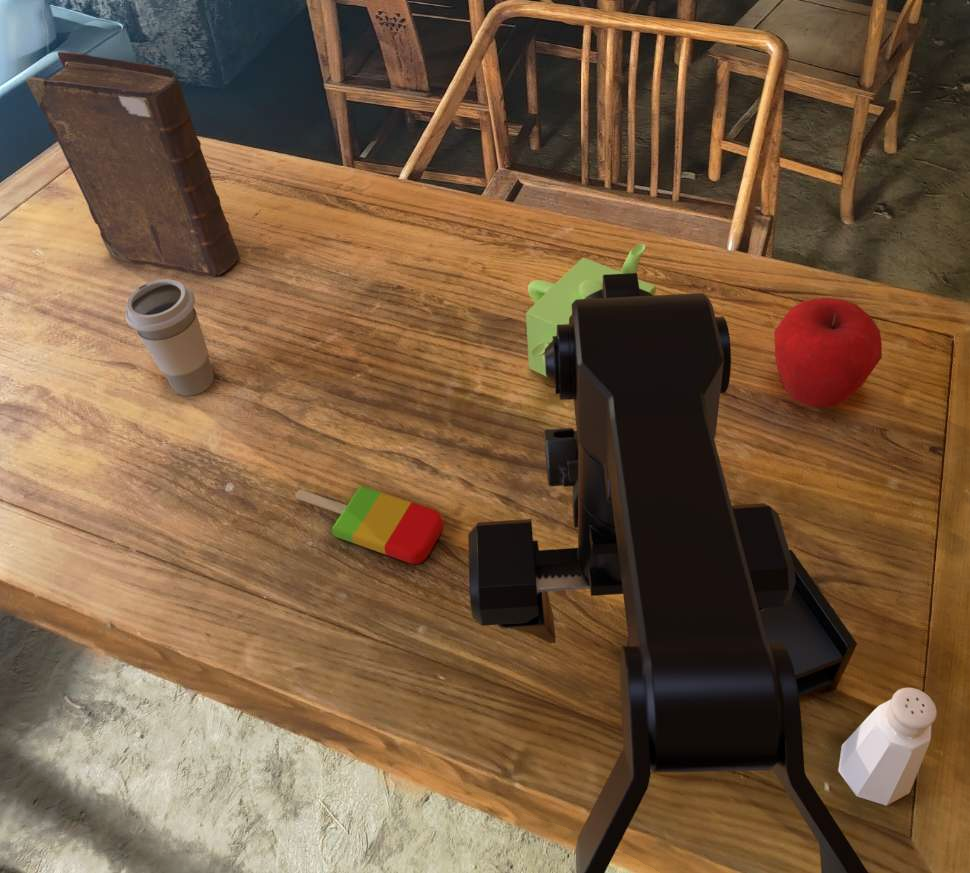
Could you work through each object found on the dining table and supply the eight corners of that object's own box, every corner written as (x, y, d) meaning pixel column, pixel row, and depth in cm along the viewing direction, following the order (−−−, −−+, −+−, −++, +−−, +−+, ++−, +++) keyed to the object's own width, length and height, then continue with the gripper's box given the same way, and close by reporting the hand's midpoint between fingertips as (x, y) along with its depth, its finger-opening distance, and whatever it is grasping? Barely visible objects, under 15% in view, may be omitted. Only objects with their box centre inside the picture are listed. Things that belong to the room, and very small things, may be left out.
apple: (744, 383, 96) (760, 303, 88) (814, 346, 99) (836, 265, 91) (812, 443, 90) (836, 363, 82) (885, 402, 93) (915, 321, 85)
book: (247, 256, 116) (183, 67, 98) (213, 291, 112) (140, 101, 94) (144, 229, 122) (65, 44, 103) (108, 261, 118) (19, 75, 99)
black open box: (836, 689, 74) (857, 643, 68) (676, 751, 71) (685, 709, 66) (775, 598, 79) (791, 548, 74) (626, 653, 77) (630, 606, 71)
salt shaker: (899, 732, 71) (941, 665, 63) (923, 804, 67) (972, 743, 59) (827, 737, 71) (860, 670, 63) (848, 808, 68) (886, 748, 59)
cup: (203, 350, 106) (168, 266, 96) (236, 377, 102) (203, 294, 93) (149, 383, 103) (108, 301, 93) (181, 413, 99) (142, 330, 90)
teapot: (639, 309, 105) (644, 232, 97) (679, 392, 96) (689, 315, 88) (507, 335, 103) (501, 259, 95) (535, 422, 95) (532, 346, 87)
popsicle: (422, 569, 84) (419, 558, 83) (283, 520, 89) (278, 508, 87) (448, 523, 87) (446, 511, 86) (313, 478, 92) (309, 466, 91)
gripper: (770, 370, 55) (736, 524, 67) (457, 393, 56) (478, 541, 67) (821, 522, 48) (772, 665, 59) (459, 546, 48) (482, 683, 60)
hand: (620, 632), depth 62 cm, fingers open, 9 cm apart
